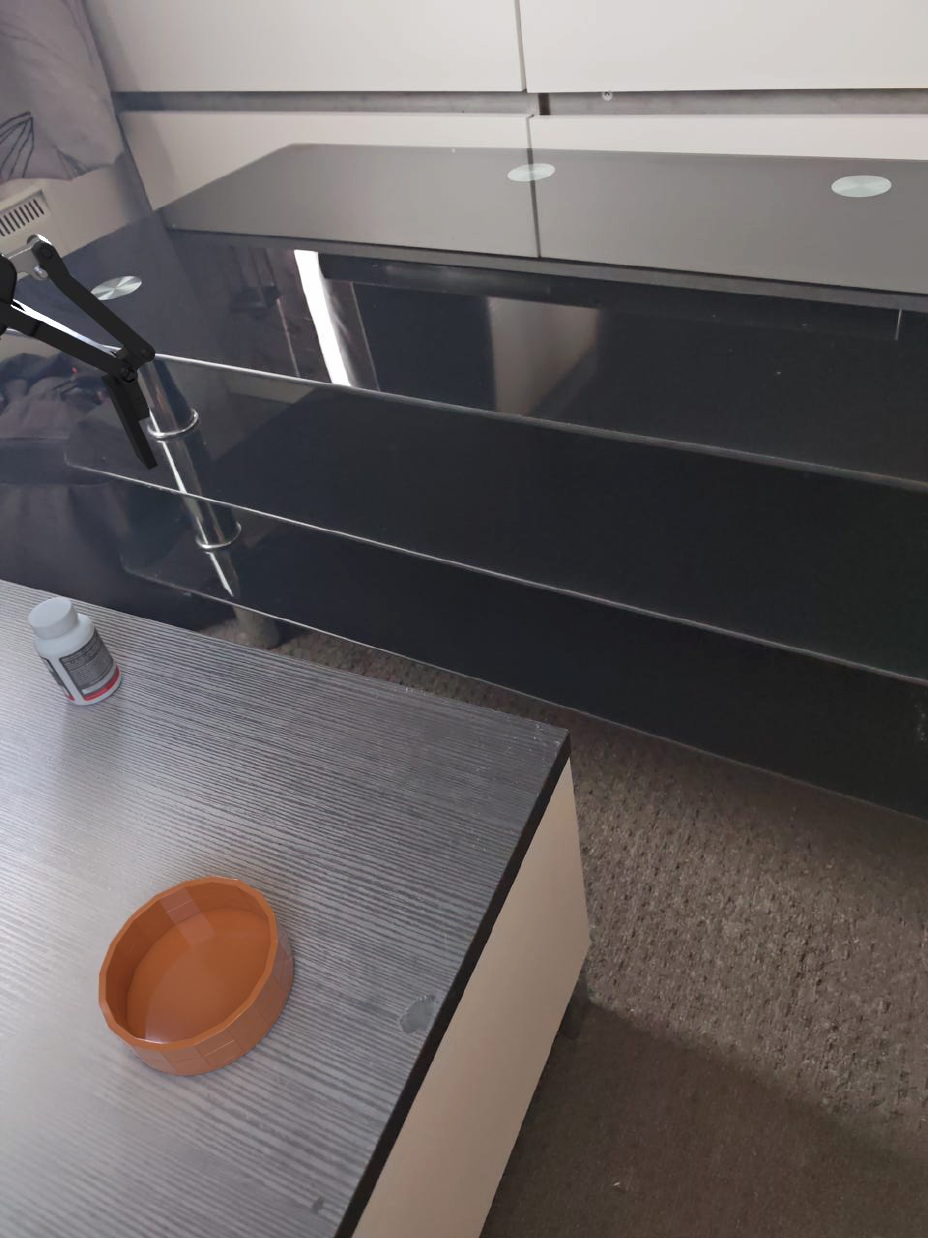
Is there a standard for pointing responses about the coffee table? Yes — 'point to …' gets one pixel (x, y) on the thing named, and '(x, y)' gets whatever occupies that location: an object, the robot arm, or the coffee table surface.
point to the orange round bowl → (197, 976)
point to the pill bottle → (73, 652)
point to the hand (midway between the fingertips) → (58, 500)
